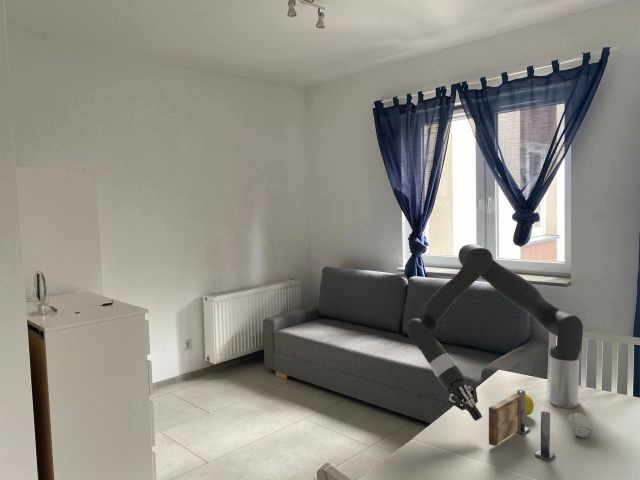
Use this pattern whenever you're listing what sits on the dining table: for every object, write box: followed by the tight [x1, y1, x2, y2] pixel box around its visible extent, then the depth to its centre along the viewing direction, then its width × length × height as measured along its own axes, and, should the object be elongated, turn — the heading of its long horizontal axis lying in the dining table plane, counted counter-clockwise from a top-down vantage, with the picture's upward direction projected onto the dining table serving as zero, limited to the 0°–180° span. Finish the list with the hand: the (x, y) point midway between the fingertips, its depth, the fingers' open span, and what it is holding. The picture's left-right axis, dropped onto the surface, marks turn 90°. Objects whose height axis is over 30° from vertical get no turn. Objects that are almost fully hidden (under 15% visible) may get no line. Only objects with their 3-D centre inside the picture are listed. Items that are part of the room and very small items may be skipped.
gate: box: [488, 393, 521, 447], centre depth 147 cm, size 15×2×11 cm, turn 129°
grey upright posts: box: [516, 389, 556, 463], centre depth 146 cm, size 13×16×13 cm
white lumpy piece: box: [568, 412, 593, 438], centre depth 149 cm, size 6×7×7 cm
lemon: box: [525, 393, 535, 418], centre depth 163 cm, size 6×6×8 cm
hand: (479, 419), depth 149 cm, fingers closed
